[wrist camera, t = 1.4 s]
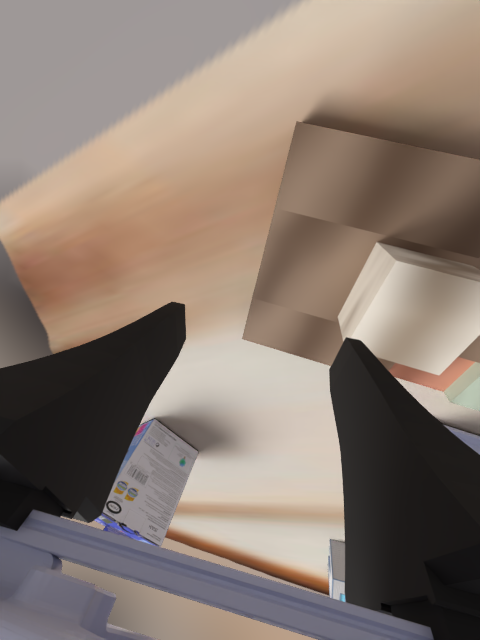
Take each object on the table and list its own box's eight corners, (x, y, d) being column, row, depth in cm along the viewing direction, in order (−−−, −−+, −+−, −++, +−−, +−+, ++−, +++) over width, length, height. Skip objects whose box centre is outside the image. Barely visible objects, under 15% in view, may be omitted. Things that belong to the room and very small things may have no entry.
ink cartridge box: (137, 425, 39) (62, 537, 27) (153, 415, 36) (78, 536, 24) (181, 457, 41) (130, 573, 29) (200, 451, 38) (152, 576, 26)
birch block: (472, 266, 15) (521, 292, 11) (414, 338, 18) (439, 375, 15) (376, 241, 15) (396, 260, 12) (337, 316, 18) (344, 347, 15)
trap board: (842, 241, 12) (905, 249, 10) (546, 420, 21) (562, 436, 19) (297, 125, 14) (296, 121, 13) (245, 330, 23) (242, 338, 22)
